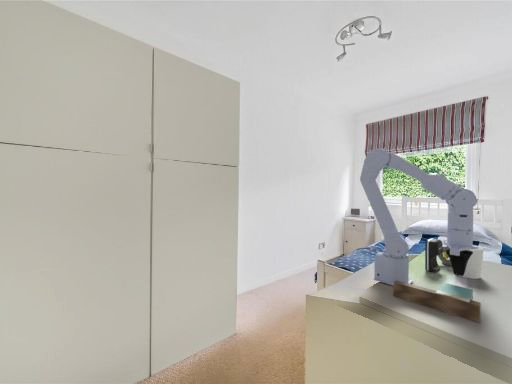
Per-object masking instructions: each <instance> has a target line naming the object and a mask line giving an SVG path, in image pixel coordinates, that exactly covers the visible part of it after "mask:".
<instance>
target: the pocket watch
mask: <svg viewBox="0 0 512 384" xmlns="http://www.w3.org/2000/svg"><path fill="white" fill-rule="evenodd" d="M443 243H444V244H445V245H444V246H443V252H442V254H440V255H438V256H437V258H438V259H439V260H440V261H441V263H442V264H443V265H447V266H450V267H452V265H451V261H450V259H449V257H448V255H447V253H446V250H447V249H450V248H449V247H448V246H447V245H446V240H444V241H443Z"/></svg>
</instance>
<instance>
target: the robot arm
mask: <svg viewBox="0 0 512 384" xmlns="http://www.w3.org/2000/svg"><path fill="white" fill-rule="evenodd" d="M385 167H386V169H388V170H398V171H399V172H402V173H403V174H405V175H407V176H409V177H411V178H413V179H415V180H416V181H418V182H420V184H421V188H422V189H423V190H425V191H426V192H428V193H430V194H431V195H433V196H435V197H437V198H439V199H440V200H442V201H445V202H446V204H447V205H448V211H447V229H446V230H447V232H446V233H447V234H446V235H447V236H446V241H445V243H446V244H445V246H448V247H449V248H450V249H447V250H446V253H447V255H448V260H450V261H451V265H452V266H451V269H452V272H453V275H456V276H459V275H460V276H459V277H461V276H463V275H464V273H465V270H466V266H467V263H468V260H469V258H470V256H471V255H472V254H473V252H472V251H469V250H470V249H478V247H479V246H478V245H474V244H473V242H474V207H476V205H477V204H478V200H479V199H478V198H477V196H476V194H475V193H474V192H473V190H471V189H467V188H462V184H461V183H459V182H458V183H456V182H454V181H451V180H450V179H448V178H447V177H446V175H445V174H444V173H437V172H434V173H433V172H432V173H428V172H426V171H425V170H423V169H421V168H420V167H418V166H417V165H415V164H413V163H411V162H409V161H408V160H406V159H405V158H403V157H402V156H400V155H397V154H395V153H393V152H390V151H387V150H386V149H384V148H381V147H380V148H379V147H377V148H373V149H372V150H370V151H369V153H368V154H367V156H366V157H365V158H364V160H363V165H362V169H361V172H360V175H359V176H360V177H359V180H360V181H359V182H360V184H361V187H362V188H363V190H364V193H365V195H366V197H367V200H368V202H369V204H370V208H371V210H372V211H373V214H374V217H375V218H376V221H377V223H378V225H379V228H380V230H381V232H382V235H383V239H384V240H383V241H384V245H385V246H384V248H385V249H384V250H383V251H378V252H377V253H376V254H375V256H374V276H373V277H374V278H373V280H374V281H376V282H379V283H384V284H387V285H390V286H393V287H394V281H396V280H397V281H401V282H405V283H408V284H413V282H414V281H413V279H410V278H409V276H410V275H409V267H410V265H409V264H410V263H409V261H410V260H409V255H410V254H408V253H409V250H410V249H409V248H410V247H409V244H408V243H407V241H406V239H405V237H404V236H403V235H402V234H401V233H400V232H399V231H398V228H397V226H396V224H395V221H394V219H393V217H392V215H391V212H390V209H389V208H388V205H387V203H386V201H385V198H384V195H383V194H382V192H381V189H380V188H379V184H378V183H377V178H378V176H379V174H380V173H381V171H382V170H383V169H385Z"/></svg>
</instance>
